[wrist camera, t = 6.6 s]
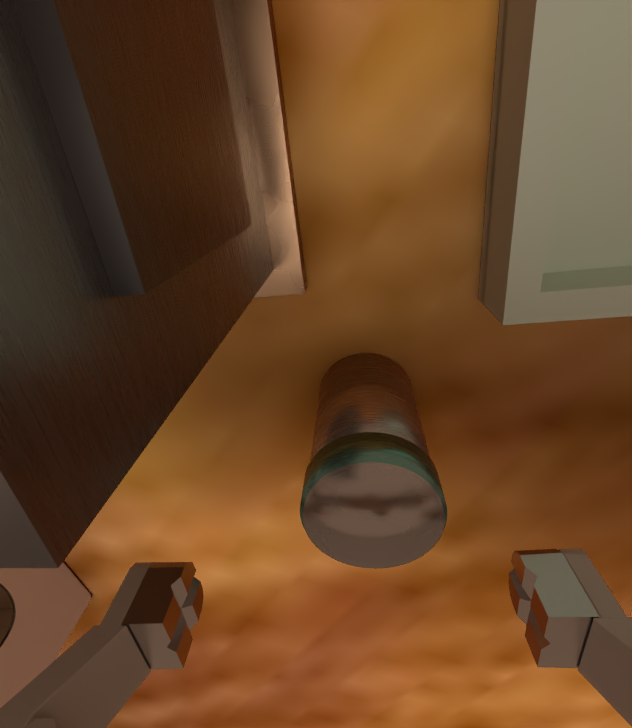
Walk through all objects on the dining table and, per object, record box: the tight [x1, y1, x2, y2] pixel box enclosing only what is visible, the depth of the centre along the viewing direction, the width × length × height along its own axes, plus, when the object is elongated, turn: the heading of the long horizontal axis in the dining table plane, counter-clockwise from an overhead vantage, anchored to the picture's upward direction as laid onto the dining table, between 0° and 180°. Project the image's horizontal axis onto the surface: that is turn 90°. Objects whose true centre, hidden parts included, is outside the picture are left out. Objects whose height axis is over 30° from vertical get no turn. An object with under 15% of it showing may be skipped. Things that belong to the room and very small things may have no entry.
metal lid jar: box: [300, 353, 447, 568], centre depth 14 cm, size 4×4×7 cm
